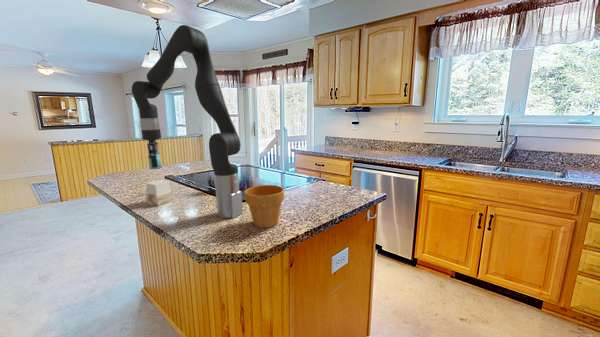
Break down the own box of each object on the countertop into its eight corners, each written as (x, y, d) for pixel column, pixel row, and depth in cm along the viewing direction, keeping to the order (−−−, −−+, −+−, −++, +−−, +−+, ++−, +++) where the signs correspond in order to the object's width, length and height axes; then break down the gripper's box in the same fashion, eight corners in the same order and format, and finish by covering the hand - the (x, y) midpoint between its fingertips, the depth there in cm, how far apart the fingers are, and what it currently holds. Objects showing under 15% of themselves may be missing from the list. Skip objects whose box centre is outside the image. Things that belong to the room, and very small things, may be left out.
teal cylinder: (164, 167, 129) (162, 154, 128) (154, 169, 125) (152, 156, 124) (157, 166, 132) (155, 153, 130) (147, 168, 127) (145, 155, 126)
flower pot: (238, 226, 103) (236, 192, 100) (262, 213, 115) (261, 183, 112) (269, 234, 96) (268, 198, 93) (292, 220, 108) (291, 187, 105)
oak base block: (173, 201, 133) (172, 191, 132) (158, 207, 126) (156, 196, 125) (162, 199, 137) (161, 189, 136) (147, 204, 130) (145, 194, 129)
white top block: (170, 191, 132) (169, 181, 131) (156, 195, 126) (155, 185, 125) (161, 189, 136) (160, 179, 135) (147, 193, 130) (146, 183, 129)
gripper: (158, 129, 119) (163, 168, 123) (161, 127, 132) (165, 162, 136) (138, 130, 117) (144, 170, 120) (143, 127, 130) (148, 164, 133)
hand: (155, 165), depth 128 cm, fingers closed on teal cylinder, 5 cm apart
